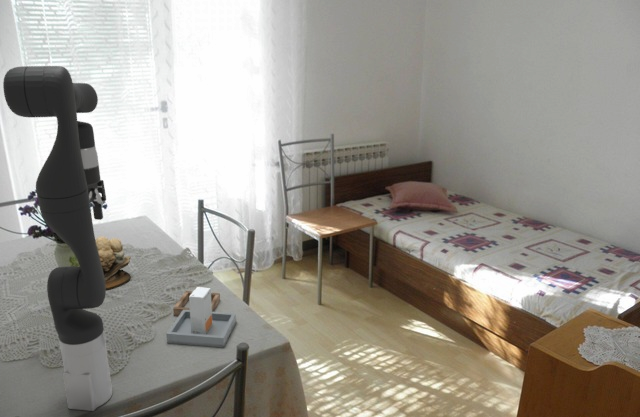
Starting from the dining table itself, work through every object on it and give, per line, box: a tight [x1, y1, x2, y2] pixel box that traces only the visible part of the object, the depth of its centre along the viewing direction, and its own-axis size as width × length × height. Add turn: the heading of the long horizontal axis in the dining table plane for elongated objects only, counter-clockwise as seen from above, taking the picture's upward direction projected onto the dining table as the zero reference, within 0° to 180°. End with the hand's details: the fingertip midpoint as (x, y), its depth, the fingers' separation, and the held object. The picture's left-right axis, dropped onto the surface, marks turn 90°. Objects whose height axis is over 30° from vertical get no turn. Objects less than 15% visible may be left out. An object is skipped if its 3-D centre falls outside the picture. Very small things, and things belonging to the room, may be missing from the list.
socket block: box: [172, 290, 221, 317], centre depth 161 cm, size 11×11×2 cm
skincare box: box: [188, 286, 212, 335], centre depth 147 cm, size 6×4×12 cm
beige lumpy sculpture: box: [95, 236, 132, 291], centre depth 174 cm, size 18×12×17 cm, turn 129°
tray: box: [166, 310, 237, 348], centre depth 148 cm, size 13×16×3 cm
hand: (90, 224), depth 137 cm, fingers open, 8 cm apart
